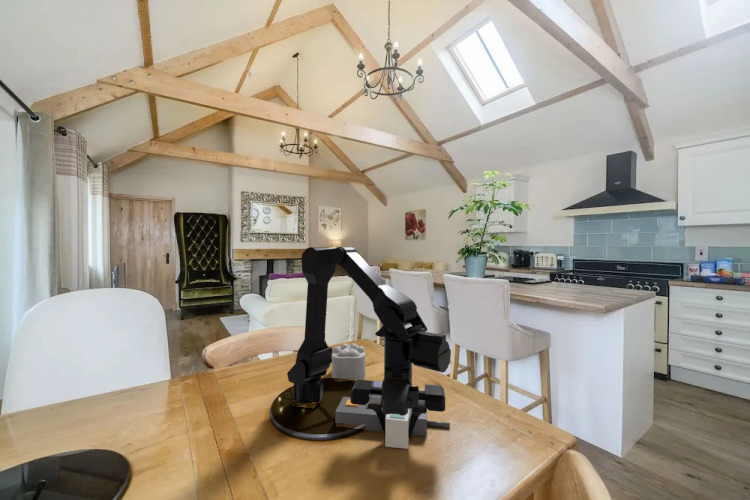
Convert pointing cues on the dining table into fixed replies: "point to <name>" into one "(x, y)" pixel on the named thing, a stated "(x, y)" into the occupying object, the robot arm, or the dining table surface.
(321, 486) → the dining table surface
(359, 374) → the lumpy-topped squat cylinder
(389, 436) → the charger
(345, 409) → the power strip
